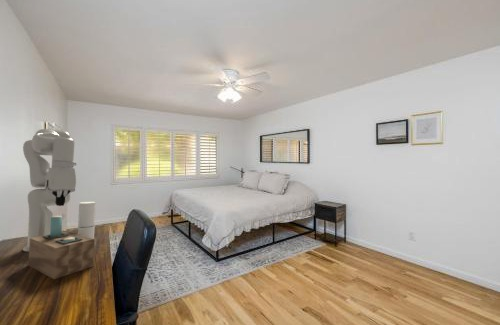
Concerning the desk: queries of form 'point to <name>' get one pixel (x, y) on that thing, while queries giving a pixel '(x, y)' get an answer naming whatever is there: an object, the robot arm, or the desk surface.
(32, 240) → the walnut block
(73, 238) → the peg
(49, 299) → the desk surface
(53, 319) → the desk surface
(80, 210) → the cylindrical container
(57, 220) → the peg
